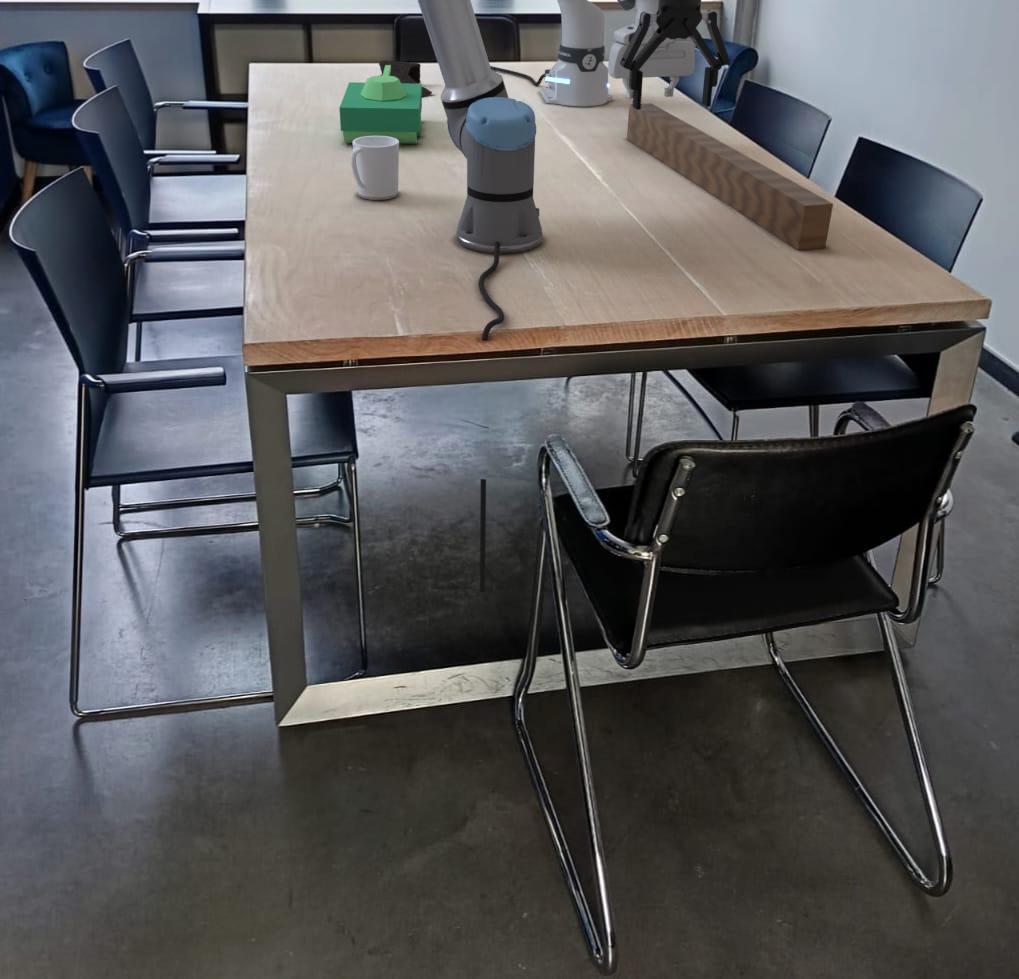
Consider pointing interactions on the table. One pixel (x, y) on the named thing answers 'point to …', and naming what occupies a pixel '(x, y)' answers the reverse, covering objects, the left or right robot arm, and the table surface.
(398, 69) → the axe head
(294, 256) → the table surface
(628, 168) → the table surface
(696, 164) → the bar
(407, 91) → the green tank
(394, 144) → the mug
